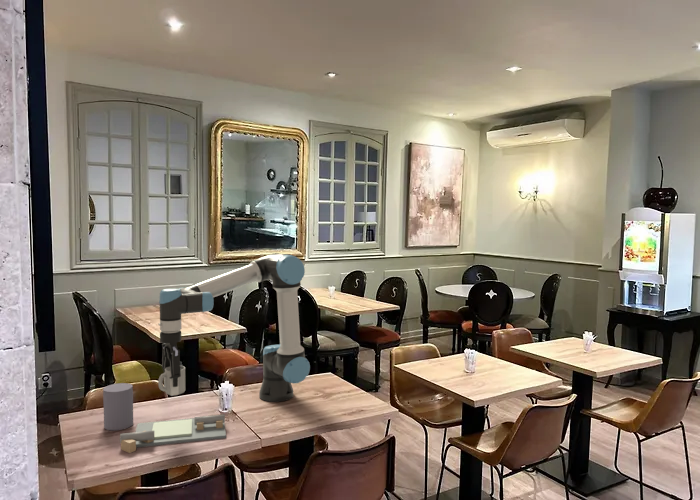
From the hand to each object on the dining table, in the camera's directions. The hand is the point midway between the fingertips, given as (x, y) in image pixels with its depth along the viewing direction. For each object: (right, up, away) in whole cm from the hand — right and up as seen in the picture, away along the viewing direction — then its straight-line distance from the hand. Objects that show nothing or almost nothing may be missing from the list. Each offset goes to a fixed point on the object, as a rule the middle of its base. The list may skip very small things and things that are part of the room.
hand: (171, 391), depth 198 cm
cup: (0, -1, 0) cm, 1 cm away
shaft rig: (+2, -15, -1) cm, 16 cm away
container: (-22, -15, +7) cm, 28 cm away
